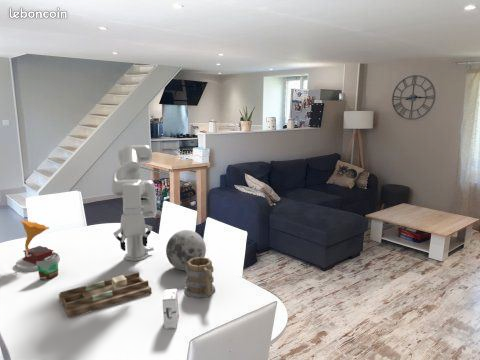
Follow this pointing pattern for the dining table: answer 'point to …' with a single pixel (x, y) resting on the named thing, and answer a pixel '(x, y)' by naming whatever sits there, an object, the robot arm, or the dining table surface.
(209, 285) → the tankard
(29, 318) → the dining table surface
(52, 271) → the food container
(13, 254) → the dining table surface
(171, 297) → the ink box
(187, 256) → the moon model
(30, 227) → the gramophone
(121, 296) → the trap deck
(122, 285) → the block
